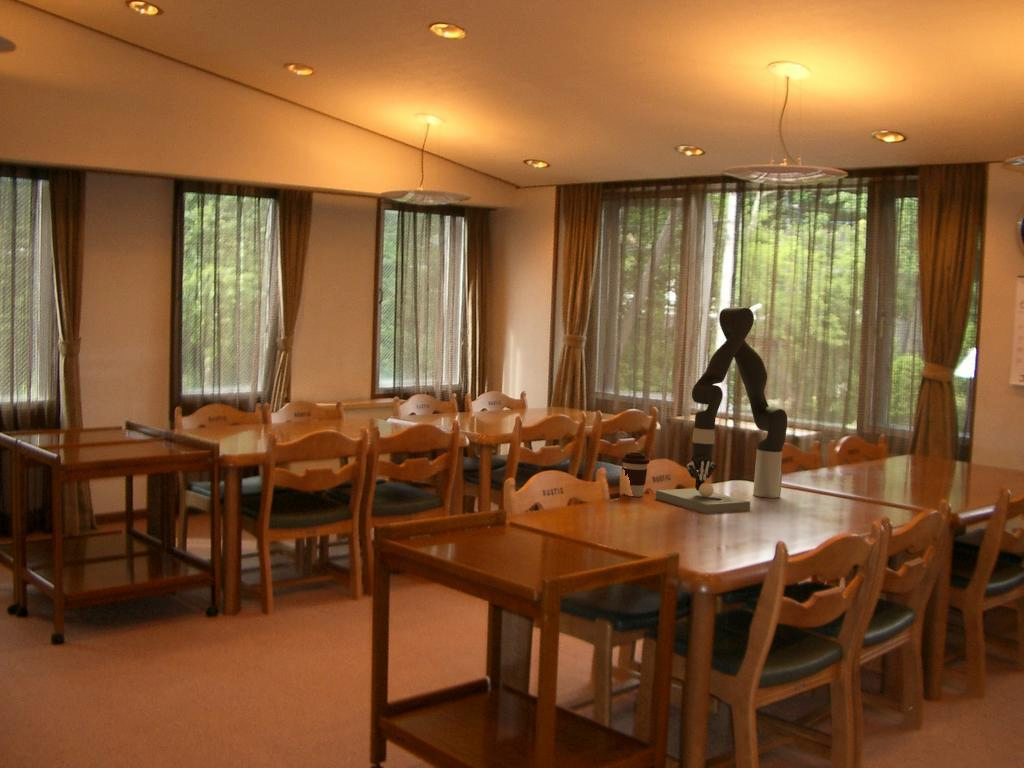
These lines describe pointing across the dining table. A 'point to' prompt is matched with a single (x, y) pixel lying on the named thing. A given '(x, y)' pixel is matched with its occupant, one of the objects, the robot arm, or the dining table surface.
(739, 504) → the grey flat block
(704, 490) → the ball
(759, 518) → the dining table surface
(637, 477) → the coffee cup
